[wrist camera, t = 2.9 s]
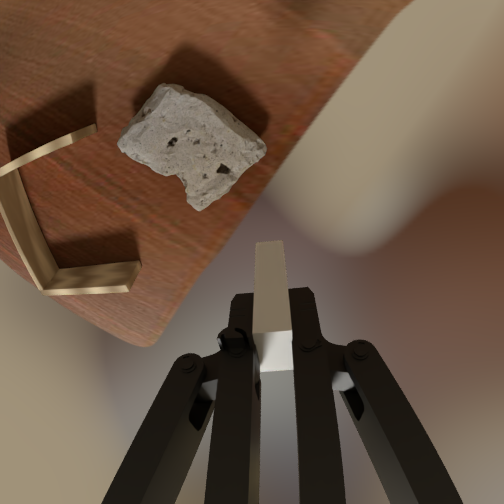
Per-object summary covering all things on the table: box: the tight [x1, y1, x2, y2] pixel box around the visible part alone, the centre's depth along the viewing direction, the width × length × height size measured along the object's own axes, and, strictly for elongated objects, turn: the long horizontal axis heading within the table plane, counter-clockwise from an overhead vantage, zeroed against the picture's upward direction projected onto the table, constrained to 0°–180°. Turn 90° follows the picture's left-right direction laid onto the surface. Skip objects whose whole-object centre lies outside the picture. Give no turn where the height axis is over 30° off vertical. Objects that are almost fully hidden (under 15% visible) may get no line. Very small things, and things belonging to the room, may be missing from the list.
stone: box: [117, 83, 267, 211], centre depth 25 cm, size 13×6×10 cm
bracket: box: [0, 124, 142, 295], centre depth 29 cm, size 16×19×5 cm
